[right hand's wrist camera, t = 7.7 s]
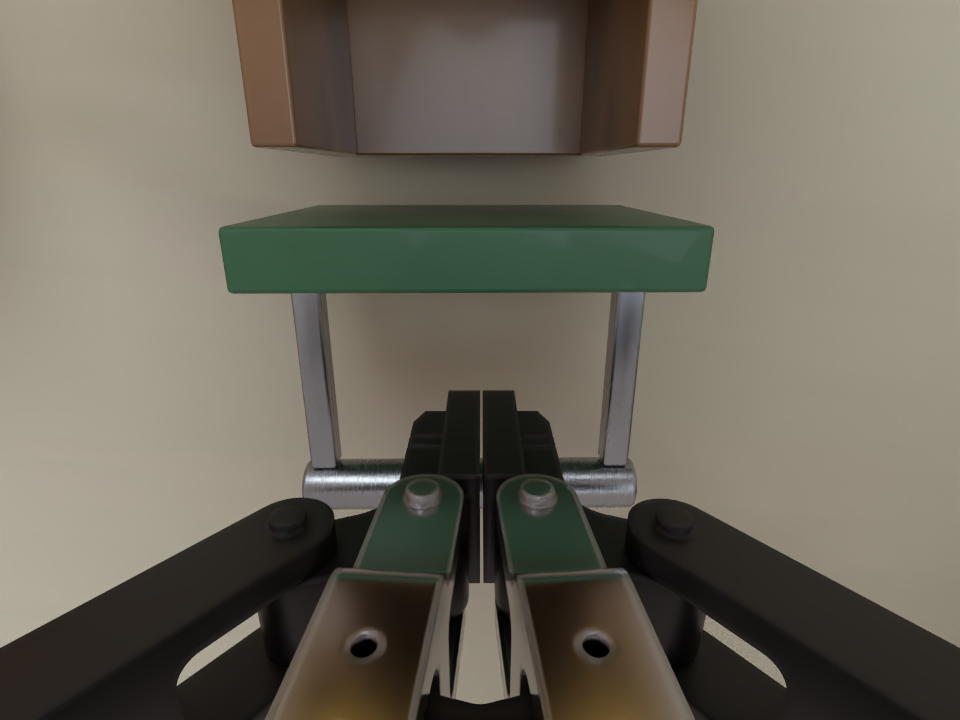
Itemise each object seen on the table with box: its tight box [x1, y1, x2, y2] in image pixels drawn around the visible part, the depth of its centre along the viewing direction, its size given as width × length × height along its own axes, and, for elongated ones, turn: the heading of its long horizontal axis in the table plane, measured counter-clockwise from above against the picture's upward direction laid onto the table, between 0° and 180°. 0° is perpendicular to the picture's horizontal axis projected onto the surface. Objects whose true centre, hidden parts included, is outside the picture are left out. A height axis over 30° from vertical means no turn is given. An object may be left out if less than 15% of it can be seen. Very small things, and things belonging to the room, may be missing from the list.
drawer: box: [219, 0, 714, 510], centre depth 12 cm, size 18×9×6 cm, turn 0°
